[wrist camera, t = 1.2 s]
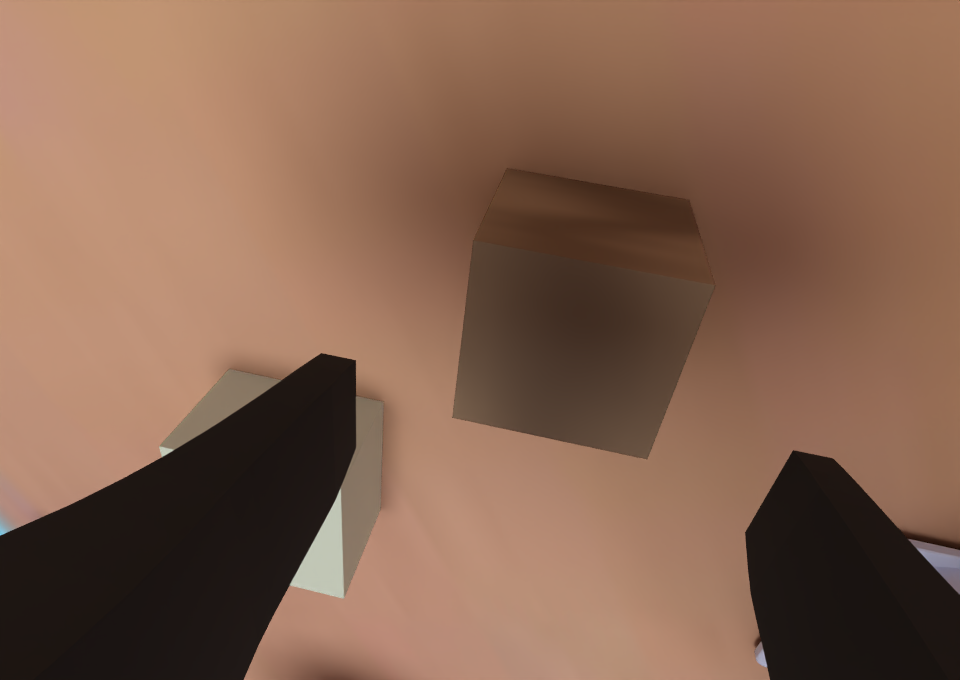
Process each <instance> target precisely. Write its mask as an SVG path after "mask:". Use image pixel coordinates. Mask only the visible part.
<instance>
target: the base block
mask: <svg viewBox="0 0 960 680" xmlns="http://www.w3.org/2000/svg"><path fill="white" fill-rule="evenodd" d="M280 381H281V380H279V379H274V378H270V377H265V376H260V375H256V374H251V373H246V372H242V371H237V370H232V369H229V370H228V371H227V372H226V373H225V374H224V375H223V376H222V377H221V379H220V380H219V381H218V382H217V383H216V384H215V385H214V386H213V387H212V388H211V390H210V391H209V392H208V393H207V394H206V395H205V396H204V397H203V398H202V400H201V401H200V402H199V403H198V404H197V405H196V406H195V407H194V408H193V409H192V411H191V412H190V413H189V414H188V415H187V416H186V417H185V418H184V419H183V421H182V422H181V423H180V424H179V425H178V426H177V427H176V428H175V429H174V430H173V432H172V433H171V434H170V435H169V436H168V437H167V438H166V439H165V440H164V441H163V443H162V444H161V445H160V446H159V448H160V451H161V455H162V457H163V456H165V455H167V454H168V453H170V452H171V451H173V450H175V449H176V448H178V447H180V446H181V445H183V444H185V443H186V442H188V441H190V440H191V439H193V438H195V437H196V436H198V435H200V434H201V433H203V432H205V431H206V430H208V429H210V428H211V427H213V426H214V425H216V424H217V423H219V422H220V421H222V420H223V419H225V418H226V417H228V416H230V415H231V414H233V413H234V412H236V411H237V410H239V409H240V408H242V407H243V406H245V405H246V404H248V403H249V402H251V401H252V400H254V399H255V398H257V397H258V396H260V395H261V394H262V393H264V392H265V391H267V390H268V389H270V388H271V387H273V386H274V385H276V384H277V383H278V382H280ZM383 411H384V402H382V401H378V400H373V399H368V398H363V397H359V396H356V450H355V452H354V455H353V458H352V460H351V463H350V465H349V468H348V471H347V473H346V476H345V478H344V481H343V483H342V486H341V488H340V491H339V493H338V496H337V498H336V500H335V502H334V504H333V506H332V508H331V510H330V512H329V514H328V515H327V517H326V519H325V521H324V523H323V525H322V527H321V528H320V530H319V532H318V534H317V536H316V538H315V540H314V542H313V543H312V545H311V547H310V549H309V551H308V553H307V554H306V556H305V558H304V560H303V562H302V564H301V565H300V567H299V569H298V571H297V573H296V575H295V576H294V578H293V580H292V582H291V584H290V586H295V587H299V588H303V589H307V590H311V591H315V592H319V593H323V594H327V595H331V596H335V597H339V598H343V599H344V597H345V595H346V592H347V590H348V587H349V585H350V583H351V580H352V578H353V575H354V573H355V570H356V568H357V566H358V563H359V561H360V558H361V556H362V553H363V551H364V549H365V546H366V544H367V541H368V539H369V536H370V534H371V531H372V529H373V527H374V524H375V522H376V519H377V517H378V514H379V512H380V510H381V478H382V444H383Z"/></svg>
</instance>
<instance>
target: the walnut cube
mask: <svg viewBox="0 0 960 680" xmlns="http://www.w3.org/2000/svg"><path fill="white" fill-rule="evenodd" d="M714 288H715V283H714V279H713V276H712V273H711V270H710V266H709V263H708V260H707V257H706V253H705V250H704V247H703V244H702V240H701V237H700V234H699V231H698V227H697V224H696V221H695V218H694V214H693V211H692V208H691V205H690V201H689V200H686V199H680V198H674V197H669V196H663V195H657V194H652V193H646V192H640V191H634V190H629V189H623V188H617V187H611V186H606V185H600V184H594V183H589V182H583V181H577V180H571V179H566V178H560V177H554V176H549V175H543V174H537V173H531V172H526V171H520V170H514V169H509V168H507V170H506V172H505V174H504V176H503V178H502V180H501V183H500V185H499V187H498V189H497V191H496V193H495V195H494V197H493V200H492V202H491V204H490V206H489V208H488V210H487V212H486V214H485V217H484V219H483V221H482V223H481V225H480V227H479V229H478V231H477V234H476V236H475V238H474V240H473V247H472V256H471V264H470V273H469V281H468V290H467V298H466V307H465V315H464V324H463V332H462V340H461V349H460V357H459V366H458V374H457V383H456V391H455V400H454V408H453V417H452V418H456V419H461V420H465V421H470V422H475V423H479V424H484V425H489V426H494V427H498V428H503V429H508V430H512V431H517V432H522V433H526V434H531V435H536V436H540V437H545V438H550V439H554V440H559V441H564V442H568V443H573V444H578V445H582V446H587V447H592V448H596V449H601V450H606V451H610V452H615V453H620V454H625V455H629V456H634V457H639V458H643V459H648V456H649V454H650V451H651V449H652V446H653V443H654V441H655V438H656V436H657V433H658V431H659V428H660V426H661V423H662V420H663V418H664V415H665V413H666V410H667V408H668V405H669V403H670V400H671V398H672V395H673V392H674V390H675V387H676V385H677V382H678V380H679V377H680V375H681V372H682V369H683V367H684V364H685V362H686V359H687V357H688V354H689V352H690V349H691V346H692V344H693V341H694V339H695V336H696V334H697V331H698V329H699V326H700V323H701V321H702V318H703V316H704V313H705V311H706V308H707V306H708V303H709V300H710V298H711V295H712V293H713V290H714Z"/></svg>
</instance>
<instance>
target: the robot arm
mask: <svg viewBox="0 0 960 680" xmlns="http://www.w3.org/2000/svg"><path fill="white" fill-rule="evenodd" d="M355 450H356V360H352V359H347V358H342V357H337V356H332V355H327V354H322V353H321V354H320V355H318V356H317V357H315V358H314V359H312V360H310V361H309V362H307V363H306V364H304V365H303V366H301V367H300V368H299V369H297V370H296V371H294V372H293V373H291V374H290V375H288V376H287V377H286V378H284V379H283V380H281V381H280V382H278V383H277V384H276V385H274V386H273V387H271V388H270V389H268V390H267V391H265V392H264V393H262V394H261V395H260V396H258V397H257V398H255V399H254V400H252V401H251V402H249V403H248V404H246V405H245V406H243V407H242V408H240V409H239V410H237V411H236V412H234V413H233V414H231V415H230V416H228V417H226V418H225V419H223V420H222V421H220V422H219V423H217V424H216V425H214V426H213V427H211V428H210V429H208V430H206V431H205V432H203V433H201V434H200V435H198V436H196V437H195V438H193V439H191V440H190V441H188V442H186V443H185V444H183V445H181V446H180V447H178V448H176V449H175V450H173V451H171V452H170V453H168V454H167V455H165V456H163V457H162V458H160V459H158V460H156V461H154V462H153V463H151V464H149V465H147V466H145V467H144V468H142V469H140V470H138V471H136V472H134V473H132V474H131V475H129V476H127V477H125V478H123V479H121V480H119V481H117V482H115V483H113V484H111V485H109V486H107V487H105V488H103V489H101V490H99V491H97V492H95V493H93V494H91V495H89V496H87V497H85V498H83V499H81V500H79V501H77V502H75V503H73V504H71V505H69V506H67V507H64V508H62V509H60V510H58V511H55V512H53V513H51V514H48V515H46V516H44V517H42V518H39V519H37V520H35V521H33V522H30V523H28V524H26V525H23V526H21V527H19V528H17V529H14V530H12V531H10V532H8V533H5V534H3V535H1V536H0V680H244V677H245V675H246V673H247V671H248V668H249V666H250V664H251V661H252V659H253V657H254V654H255V652H256V650H257V647H258V645H259V643H260V641H261V639H262V637H263V635H264V633H265V631H266V629H267V627H268V625H269V623H270V621H271V619H272V617H273V615H274V613H275V611H276V609H277V608H278V606H279V604H280V602H281V600H282V598H283V597H284V595H285V593H286V591H287V589H288V587H289V586H290V584H291V582H292V580H293V578H294V576H295V575H296V573H297V571H298V569H299V567H300V565H301V564H302V562H303V560H304V558H305V556H306V554H307V553H308V551H309V549H310V547H311V545H312V543H313V542H314V540H315V538H316V536H317V534H318V532H319V530H320V528H321V527H322V525H323V523H324V521H325V519H326V517H327V515H328V514H329V512H330V510H331V508H332V506H333V504H334V502H335V500H336V498H337V496H338V493H339V491H340V488H341V486H342V483H343V481H344V478H345V476H346V473H347V471H348V468H349V465H350V463H351V460H352V458H353V455H354V452H355ZM745 535H746V549H747V562H748V572H749V581H750V591H751V597H752V601H753V606H754V611H755V615H756V620H757V624H758V629H759V633H760V638H761V642H760V643H759V645H758V646H757V647H756V649H755V657H756V660H757V662H758V663H759V664H760V665H762V666H765V667H767V668H768V672H769V676H770V680H960V550H957V549H953V548H948V547H944V546H939V545H934V544H930V543H925V542H921V541H916V540H911V539H907V537H906V536H905V535H904V534H903V533H902V532H901V531H900V530H899V529H898V528H897V526H896V525H895V524H894V523H893V522H892V521H891V520H890V519H889V518H888V517H887V515H886V514H885V513H884V512H883V511H882V510H881V509H880V508H879V507H878V505H877V504H876V503H875V502H874V501H873V500H872V499H871V498H870V497H869V496H868V495H867V493H866V492H865V491H864V490H863V489H862V488H861V487H860V486H859V485H858V484H857V483H856V481H855V480H854V479H853V478H852V477H851V476H850V475H849V474H848V473H847V472H846V471H845V470H844V469H843V468H842V467H841V466H840V465H839V464H838V463H837V462H836V461H835V460H834V459H833V458H828V457H823V456H818V455H814V454H809V453H804V452H799V451H794V450H793V452H792V453H791V455H790V457H789V459H788V460H787V462H786V464H785V465H784V467H783V469H782V471H781V472H780V474H779V476H778V477H777V479H776V481H775V482H774V484H773V486H772V488H771V489H770V491H769V493H768V494H767V496H766V498H765V500H764V501H763V503H762V505H761V506H760V508H759V510H758V512H757V513H756V515H755V517H754V518H753V520H752V522H751V523H750V525H749V527H748V529H747V530H746V532H745Z"/></svg>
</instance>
